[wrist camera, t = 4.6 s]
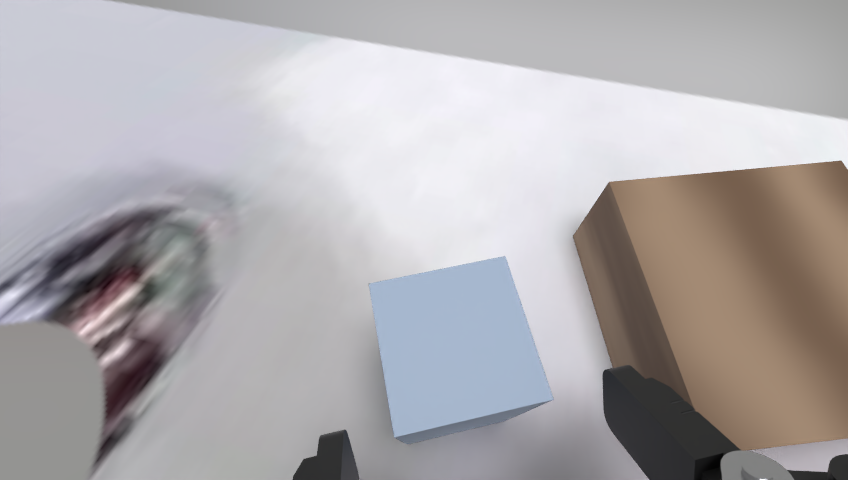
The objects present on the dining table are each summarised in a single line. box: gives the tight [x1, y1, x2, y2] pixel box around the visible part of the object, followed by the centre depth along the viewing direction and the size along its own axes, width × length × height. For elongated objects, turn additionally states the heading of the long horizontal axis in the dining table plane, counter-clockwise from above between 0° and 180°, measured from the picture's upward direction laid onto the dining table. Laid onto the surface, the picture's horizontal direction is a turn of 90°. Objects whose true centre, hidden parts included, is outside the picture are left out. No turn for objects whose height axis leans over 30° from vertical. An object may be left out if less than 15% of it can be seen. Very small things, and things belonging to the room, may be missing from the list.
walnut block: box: [573, 161, 848, 451], centre depth 21 cm, size 12×12×6 cm
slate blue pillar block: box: [369, 256, 554, 444], centre depth 18 cm, size 5×5×9 cm
